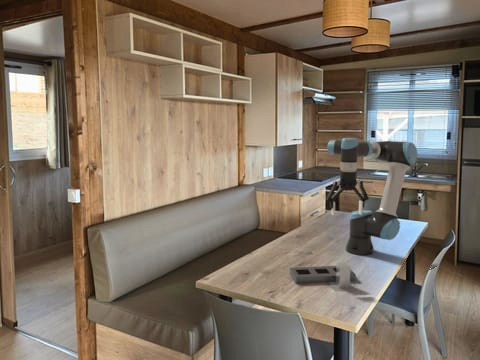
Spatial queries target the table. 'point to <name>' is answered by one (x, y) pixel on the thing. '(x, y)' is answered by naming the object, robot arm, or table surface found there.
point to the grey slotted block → (316, 274)
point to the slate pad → (336, 288)
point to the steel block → (343, 275)
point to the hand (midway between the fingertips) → (346, 214)
